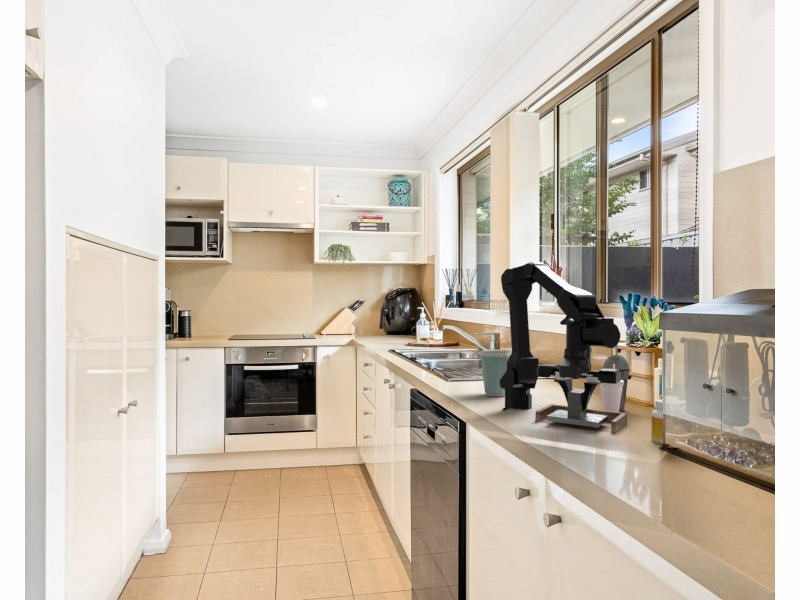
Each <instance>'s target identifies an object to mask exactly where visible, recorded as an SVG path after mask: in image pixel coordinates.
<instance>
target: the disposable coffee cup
mask: <svg viewBox="0 0 800 600" xmlns="http://www.w3.org/2000/svg"><path fill="white" fill-rule="evenodd" d="M511 353H512V348H510V349H509V348H507V349H484V350H482V351H480V353H479V354H480V355H479V356H480V360H481V361H480V362H481V370H482V378H483V386H484V393H485V395H486V396H489V397H505V389H503V388H501V387H500V382H499V380H500V379H501V378H502V376H503V375H504V373H505V372H506V370H507V361H508V359H509V357H510V355H511Z"/></svg>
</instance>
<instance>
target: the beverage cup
mask: <svg viewBox="0 0 800 600" xmlns="http://www.w3.org/2000/svg"><path fill="white" fill-rule="evenodd" d="M618 344H619V343H618ZM618 344H617V345H616V346H615V354H612V355H610V356H608V357H607V358H606V359H605V360H604V362H603V366H602V369H603V368H606V369H613V364H615V369H618V370H619V371H620V372H621V380H623V381H624V385H623V387H622V394H621V401H620V408H619V412H623V411H625V406H626V399H627V390H628V380H629V376H630V370H631V369H630V364H629V361H628V360H627V359H626V358H625V357H624V356H622V355H620V354H618V353H619V352H618V350H619V349H618V347H619V345H618Z"/></svg>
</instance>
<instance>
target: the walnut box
mask: <svg viewBox="0 0 800 600" xmlns="http://www.w3.org/2000/svg"><path fill="white" fill-rule="evenodd" d="M557 410H566V411H568V405H563V404H561V405H560V404H555V403H551V404H547V405H546V406H544V407H541V408H540V409H538V410H535V419H534V421H535V422H537V423H543V424H550V425H558V426H563V427H564V426H566V427H571V428H578V429H587V430H593V431H600V432H607V433H612V434H613V433H614V434H615V433H616V434H617V432H619V431H620V430H621V429H622V428H624V427H625V426H626V425H627V424H628V413H627V412H621V411H619V412H612V411H604V410H603V409H594V408H588V407H587V413H590V414H598V415H606V416H608V421H607V422H605V423H604V424H603V425H601V426H600V427H599V428H596V427H589V426H582V425H575V424H567V423H560V422H553V421H547V415H549V414H551V413H553V412H555V411H557Z"/></svg>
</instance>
